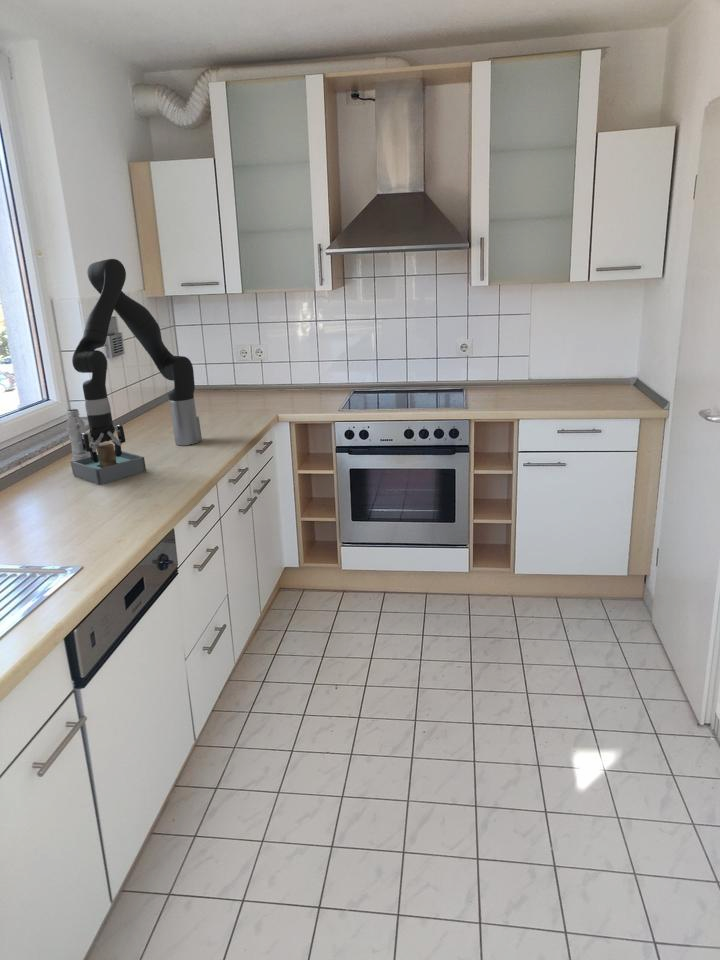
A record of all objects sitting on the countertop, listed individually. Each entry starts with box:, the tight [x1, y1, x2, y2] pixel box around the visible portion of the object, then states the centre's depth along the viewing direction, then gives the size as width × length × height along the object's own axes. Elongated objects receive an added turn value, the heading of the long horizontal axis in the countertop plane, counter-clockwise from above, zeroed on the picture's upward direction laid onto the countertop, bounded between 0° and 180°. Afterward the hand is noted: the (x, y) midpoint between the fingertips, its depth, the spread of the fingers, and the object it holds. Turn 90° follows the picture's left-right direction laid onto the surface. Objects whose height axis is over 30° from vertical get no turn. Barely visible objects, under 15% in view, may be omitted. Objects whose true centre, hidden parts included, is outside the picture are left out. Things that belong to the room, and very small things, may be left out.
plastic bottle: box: [65, 408, 91, 461], centre depth 247 cm, size 6×7×20 cm
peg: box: [96, 442, 117, 468], centre depth 237 cm, size 4×4×10 cm
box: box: [70, 449, 147, 486], centre depth 237 cm, size 17×18×5 cm
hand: (107, 459), depth 237 cm, fingers open, 8 cm apart
